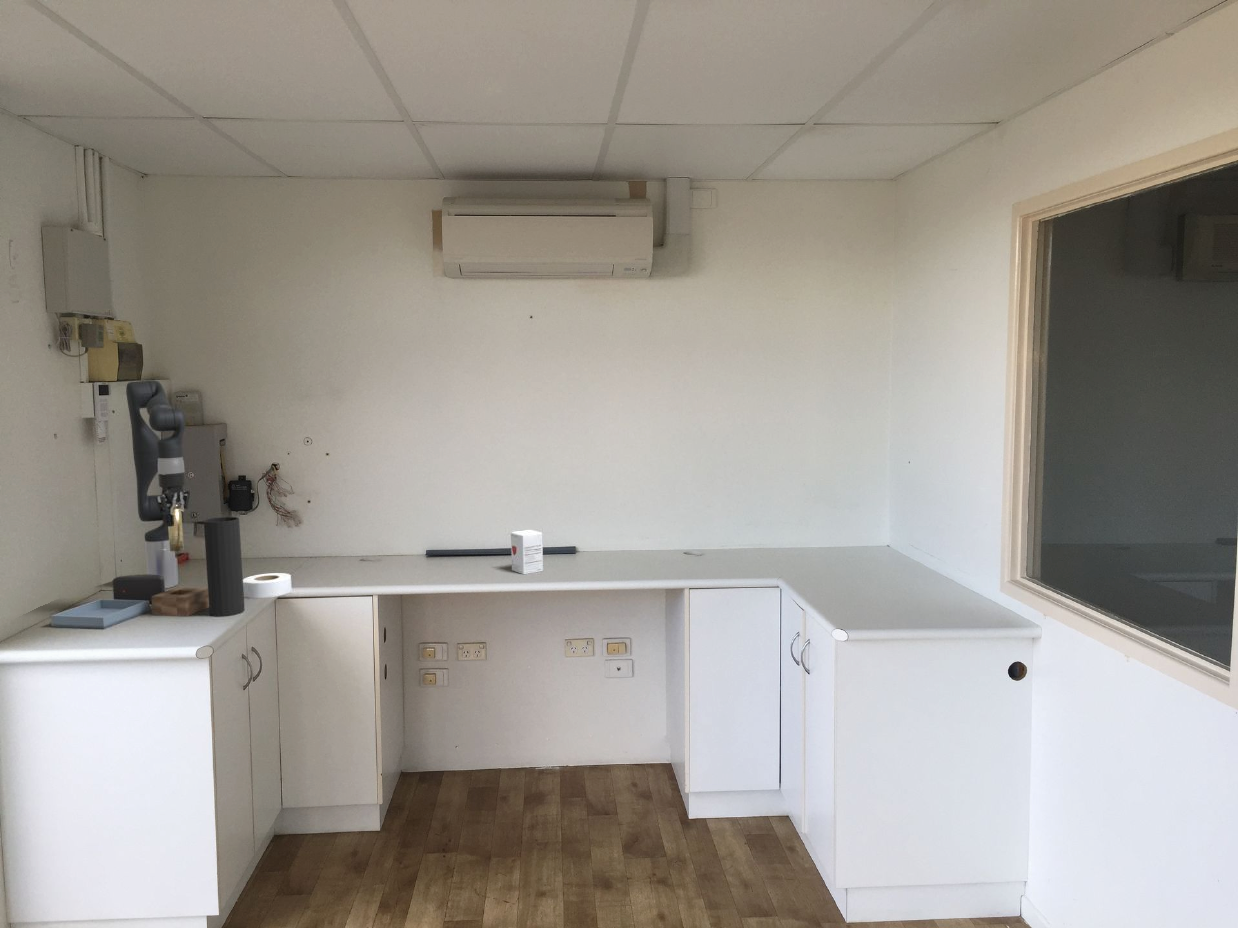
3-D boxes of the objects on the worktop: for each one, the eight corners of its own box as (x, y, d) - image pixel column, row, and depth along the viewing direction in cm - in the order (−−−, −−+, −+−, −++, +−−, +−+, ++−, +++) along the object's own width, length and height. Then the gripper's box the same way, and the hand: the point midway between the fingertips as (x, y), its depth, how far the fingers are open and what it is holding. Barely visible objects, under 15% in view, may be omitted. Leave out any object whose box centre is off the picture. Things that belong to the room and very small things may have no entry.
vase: (204, 612, 282) (198, 520, 278) (235, 606, 289) (229, 515, 286) (218, 618, 275) (212, 523, 272) (250, 611, 282) (244, 518, 279)
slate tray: (100, 609, 288) (100, 598, 287) (150, 611, 285) (149, 600, 284) (51, 626, 268) (50, 615, 268) (104, 628, 265) (103, 617, 265)
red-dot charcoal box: (169, 600, 299) (168, 572, 298) (164, 603, 294) (162, 576, 293) (119, 602, 297) (117, 574, 296) (113, 605, 292) (111, 577, 291)
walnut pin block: (177, 605, 292) (176, 587, 291) (210, 606, 290) (209, 588, 289) (152, 614, 280) (151, 596, 279) (186, 616, 278) (185, 597, 277)
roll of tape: (233, 595, 305) (232, 579, 304) (273, 585, 318) (272, 570, 317) (261, 601, 296) (260, 584, 296) (301, 591, 309) (300, 575, 309)
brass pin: (175, 548, 285) (172, 502, 283) (186, 548, 284) (183, 502, 283) (167, 551, 281) (163, 504, 280) (178, 551, 280) (175, 504, 279)
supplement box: (511, 570, 336) (509, 531, 334) (531, 567, 341) (530, 529, 340) (523, 574, 328) (522, 535, 327) (543, 571, 334) (542, 532, 332)
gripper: (175, 469, 288) (179, 520, 289) (145, 474, 274) (149, 528, 275) (196, 469, 286) (199, 521, 288) (167, 474, 272) (170, 529, 274)
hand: (175, 524), depth 282 cm, fingers closed on brass pin, 4 cm apart
